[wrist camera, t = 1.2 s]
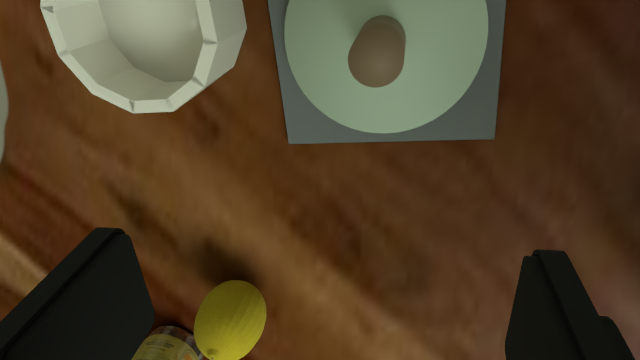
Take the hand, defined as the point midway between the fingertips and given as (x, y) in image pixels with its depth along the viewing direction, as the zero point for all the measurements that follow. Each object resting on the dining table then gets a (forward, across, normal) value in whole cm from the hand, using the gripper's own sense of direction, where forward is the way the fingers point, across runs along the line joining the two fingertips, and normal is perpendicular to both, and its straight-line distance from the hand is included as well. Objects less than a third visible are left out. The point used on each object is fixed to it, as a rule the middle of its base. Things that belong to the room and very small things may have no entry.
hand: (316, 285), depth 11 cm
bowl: (+21, +13, -3) cm, 25 cm away
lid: (+20, -1, -2) cm, 20 cm away
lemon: (+21, +11, +20) cm, 31 cm away
